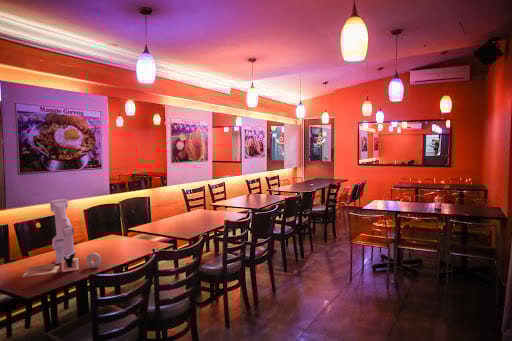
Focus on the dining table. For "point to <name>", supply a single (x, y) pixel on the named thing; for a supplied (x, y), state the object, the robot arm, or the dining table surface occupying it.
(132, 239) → the dining table surface
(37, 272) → the notched stand
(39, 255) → the dining table surface
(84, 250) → the dining table surface
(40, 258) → the dining table surface
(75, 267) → the pale pink flat block
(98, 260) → the donut
